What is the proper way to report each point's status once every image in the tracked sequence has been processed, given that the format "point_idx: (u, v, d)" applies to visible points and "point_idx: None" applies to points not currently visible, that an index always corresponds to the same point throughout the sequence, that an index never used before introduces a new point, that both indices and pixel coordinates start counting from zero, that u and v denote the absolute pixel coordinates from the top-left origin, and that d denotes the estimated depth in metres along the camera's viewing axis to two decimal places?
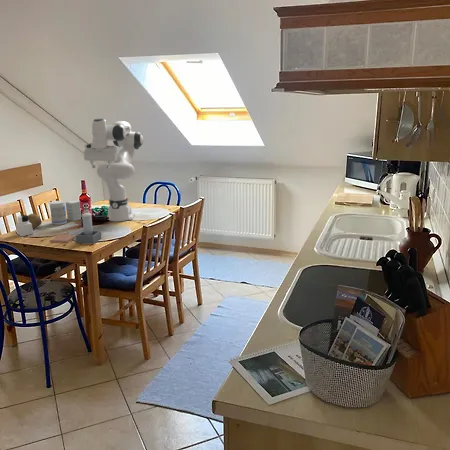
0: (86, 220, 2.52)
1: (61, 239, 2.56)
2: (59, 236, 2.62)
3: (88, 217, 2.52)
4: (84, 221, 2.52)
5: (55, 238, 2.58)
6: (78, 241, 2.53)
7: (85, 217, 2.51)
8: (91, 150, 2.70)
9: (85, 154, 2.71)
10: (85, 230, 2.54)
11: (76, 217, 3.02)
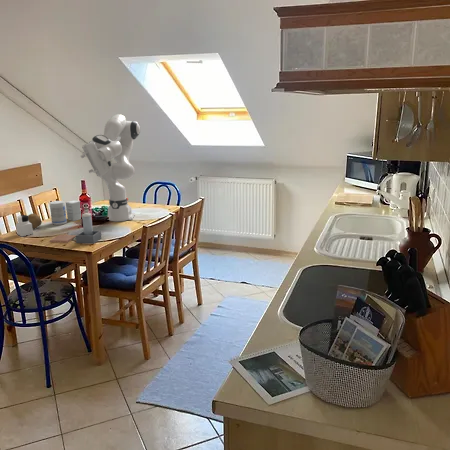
0: (86, 220, 2.52)
1: (61, 239, 2.56)
2: (59, 236, 2.62)
3: (88, 217, 2.52)
4: (84, 221, 2.52)
5: (55, 238, 2.58)
6: (78, 241, 2.53)
7: (85, 217, 2.51)
8: None
9: None
10: (85, 230, 2.54)
11: (76, 217, 3.02)
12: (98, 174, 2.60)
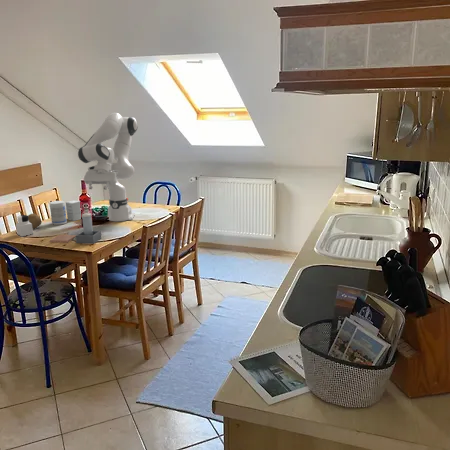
0: (86, 220, 2.52)
1: (61, 239, 2.56)
2: (59, 236, 2.62)
3: (88, 217, 2.52)
4: (84, 221, 2.52)
5: (55, 238, 2.58)
6: (78, 241, 2.53)
7: (85, 217, 2.51)
8: (93, 172, 2.71)
9: (86, 175, 2.70)
10: (85, 230, 2.54)
11: (76, 217, 3.02)
12: (86, 182, 2.70)
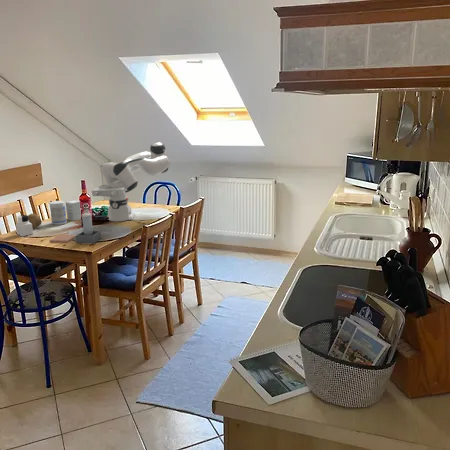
0: (86, 220, 2.52)
1: (61, 239, 2.56)
2: (59, 236, 2.62)
3: (88, 217, 2.52)
4: (84, 221, 2.52)
5: (55, 238, 2.58)
6: (78, 241, 2.53)
7: (85, 217, 2.51)
8: (103, 187, 2.72)
9: (95, 189, 2.70)
10: (85, 230, 2.54)
11: (76, 217, 3.02)
12: (93, 193, 2.68)
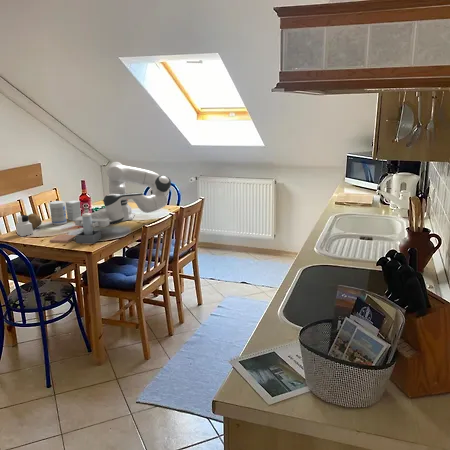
0: (86, 220, 2.52)
1: (61, 239, 2.56)
2: (59, 236, 2.62)
3: (88, 217, 2.52)
4: (84, 221, 2.52)
5: (55, 238, 2.58)
6: (78, 241, 2.53)
7: (85, 217, 2.51)
8: None
9: (78, 217, 2.63)
10: (85, 230, 2.54)
11: (76, 217, 3.02)
12: (76, 223, 2.60)
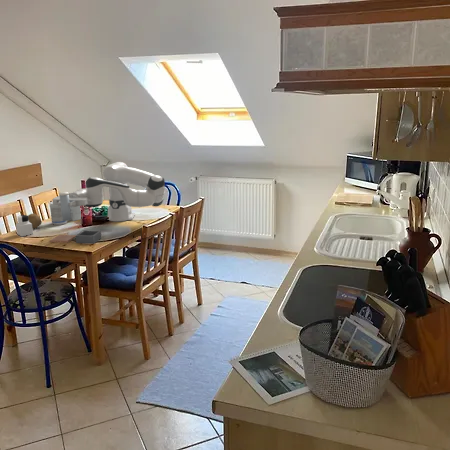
0: (63, 199, 2.49)
1: (61, 239, 2.56)
2: (59, 236, 2.62)
3: (65, 196, 2.49)
4: (61, 200, 2.50)
5: (55, 238, 2.58)
6: (78, 241, 2.53)
7: (62, 196, 2.49)
8: None
9: (56, 197, 2.60)
10: (62, 209, 2.51)
11: (76, 217, 3.02)
12: (54, 202, 2.57)
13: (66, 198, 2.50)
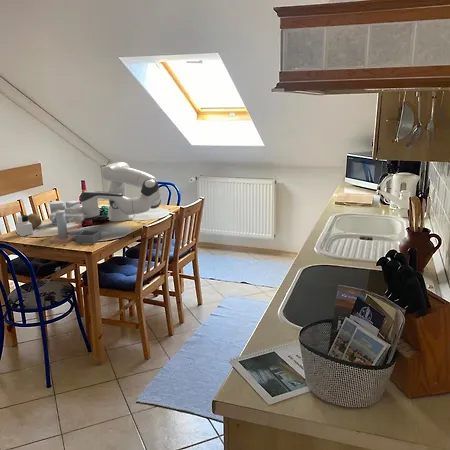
0: (59, 217, 2.54)
1: (61, 239, 2.56)
2: None
3: (61, 214, 2.54)
4: (57, 218, 2.54)
5: (55, 238, 2.58)
6: (78, 241, 2.53)
7: (58, 214, 2.53)
8: None
9: (53, 213, 2.64)
10: (59, 227, 2.55)
11: None
12: (51, 218, 2.62)
13: (62, 216, 2.54)
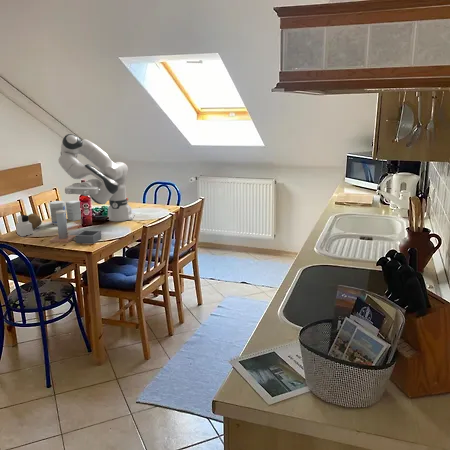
0: (60, 217, 2.54)
1: (61, 239, 2.56)
2: None
3: (62, 214, 2.54)
4: (58, 218, 2.54)
5: (55, 238, 2.58)
6: (78, 241, 2.53)
7: (59, 214, 2.53)
8: (76, 185, 2.73)
9: (68, 186, 2.71)
10: (59, 227, 2.56)
11: (76, 217, 3.02)
12: (66, 191, 2.69)
13: (63, 216, 2.55)
